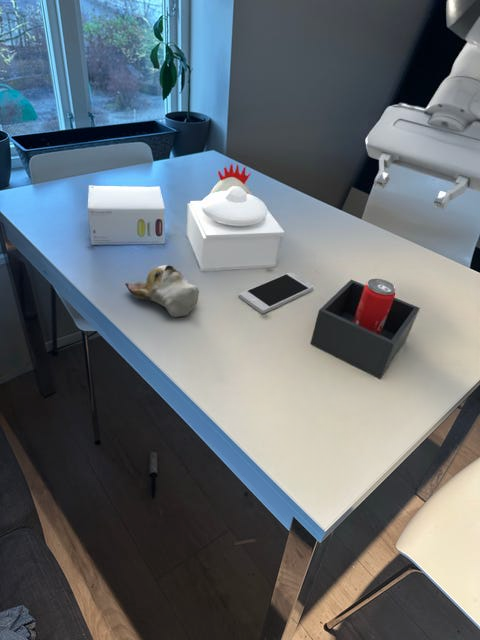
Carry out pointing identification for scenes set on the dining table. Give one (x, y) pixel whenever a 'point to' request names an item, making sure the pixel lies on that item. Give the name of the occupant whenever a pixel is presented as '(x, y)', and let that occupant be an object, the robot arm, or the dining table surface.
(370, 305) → the beverage can
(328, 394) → the dining table surface
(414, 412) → the dining table surface
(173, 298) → the ceramic sculpture
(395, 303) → the bin
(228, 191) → the butter dish
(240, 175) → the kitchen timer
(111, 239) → the supplement box
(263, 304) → the smartphone
